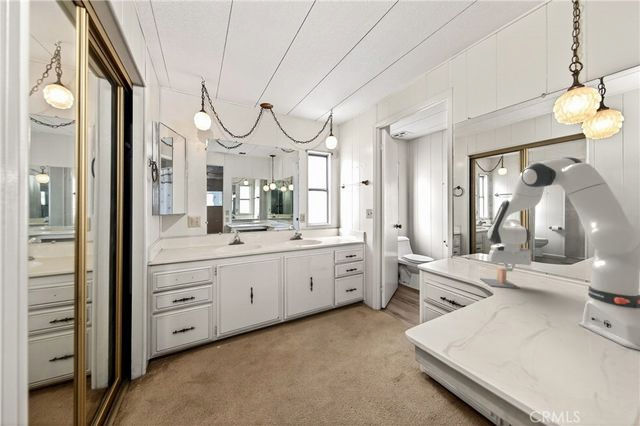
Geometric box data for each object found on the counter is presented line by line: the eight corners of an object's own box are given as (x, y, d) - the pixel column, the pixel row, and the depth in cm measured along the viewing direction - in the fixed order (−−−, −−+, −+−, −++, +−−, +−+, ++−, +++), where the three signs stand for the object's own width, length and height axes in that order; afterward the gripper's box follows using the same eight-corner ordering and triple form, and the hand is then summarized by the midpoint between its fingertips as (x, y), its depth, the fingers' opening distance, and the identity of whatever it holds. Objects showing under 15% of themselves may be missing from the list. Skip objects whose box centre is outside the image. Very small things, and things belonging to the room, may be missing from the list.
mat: (520, 288, 129) (520, 287, 129) (490, 286, 132) (490, 285, 132) (506, 281, 142) (506, 280, 142) (480, 279, 146) (480, 278, 146)
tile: (506, 283, 136) (506, 269, 135) (502, 283, 136) (502, 269, 136) (500, 280, 141) (501, 267, 141) (496, 280, 142) (497, 267, 142)
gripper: (527, 247, 138) (526, 271, 138) (487, 245, 143) (486, 268, 143) (534, 249, 132) (533, 274, 132) (492, 247, 137) (491, 271, 137)
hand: (508, 271), depth 138 cm, fingers closed
